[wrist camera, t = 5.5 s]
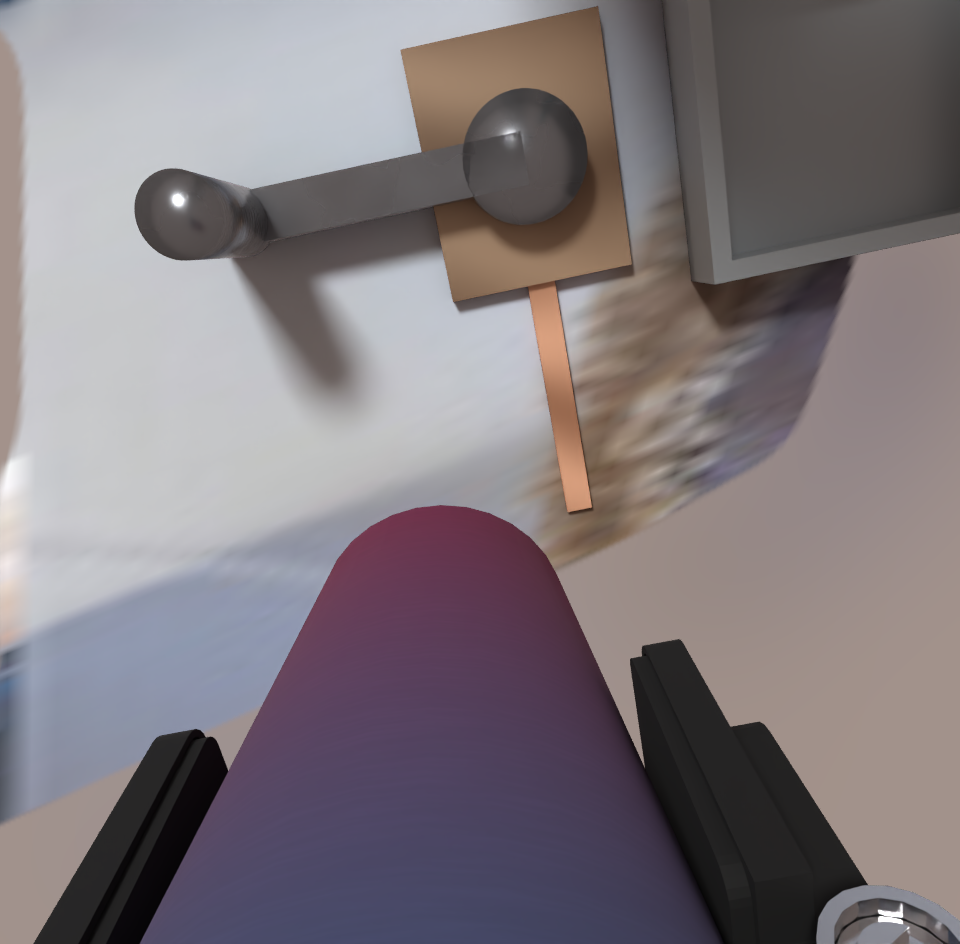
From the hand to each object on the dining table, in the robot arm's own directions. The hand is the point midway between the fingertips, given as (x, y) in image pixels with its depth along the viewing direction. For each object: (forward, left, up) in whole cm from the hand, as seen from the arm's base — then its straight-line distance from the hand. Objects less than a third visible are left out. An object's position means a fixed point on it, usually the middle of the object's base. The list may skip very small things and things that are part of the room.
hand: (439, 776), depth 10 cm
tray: (-10, +18, -24) cm, 32 cm away
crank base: (-4, +5, -24) cm, 25 cm away
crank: (-10, 0, -23) cm, 25 cm away
